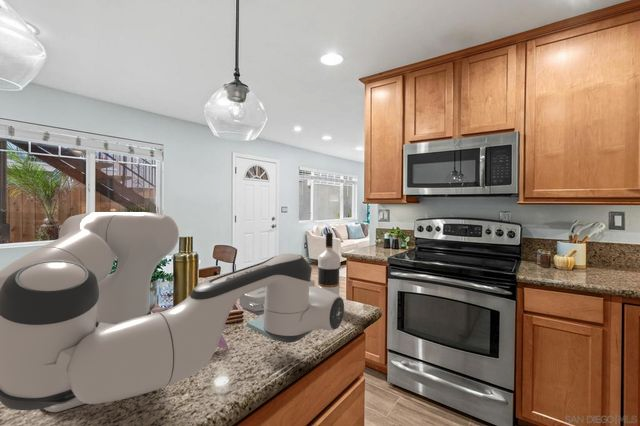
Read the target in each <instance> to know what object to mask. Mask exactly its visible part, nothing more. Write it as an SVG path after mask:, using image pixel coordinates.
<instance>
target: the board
mask: <svg viewBox="0 0 640 426" xmlns="http://www.w3.org/2000/svg"><path fill="white" fill-rule="evenodd" d="M246 327H248V328H250V329H252V330H254V331H256V332H258V333H259V334H262V335H264V336H266V337H268V338H270V339H272V340H273V339H274V338H272V337H271V336H269V335H268V334H267V333H266V332H265V330H264V316H262V317H258V318H256V319H253V320H249V321H247V322H246ZM274 340H275V339H274Z"/></svg>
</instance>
